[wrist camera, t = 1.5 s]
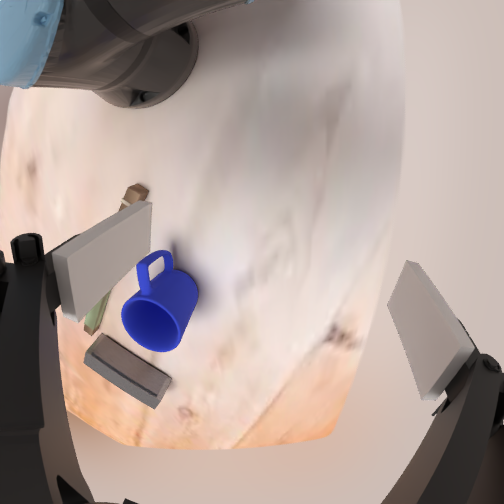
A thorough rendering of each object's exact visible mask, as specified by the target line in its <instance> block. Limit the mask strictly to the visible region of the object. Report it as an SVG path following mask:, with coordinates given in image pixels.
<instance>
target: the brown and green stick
mask: <svg viewBox="0 0 504 504" xmlns="http://www.w3.org/2000/svg"><path fill="white" fill-rule="evenodd" d="M148 192H149V191H148V190H147V189H145V188H144V187H142V186H140V185H139V184H135V185H133V186H130V187H128V189H127V191H126V194H125V196H124V198H122V199H121V202H122V204H121V206H120V209H119V211H121V210H123V209H124V208H126V207H128V206H130V205H132V204H133V203H135V202H137V201H139V200H141V201H145V198H146V196H147V194H148ZM110 291H111V290H110ZM110 291H109V292H108V293H107V294H106V295H105V296H104V297H103V298H102V299H101V300H100V301H99V302H98V303H97V304H96V305H95V306H94V307H93V308H92V309H91V310H90V311H89V312H88V313H87V314H86V318H85V322H84V324H85V326H84V331H86V332H87V333H88V334H90V335H91V336H92V335H93V334H94V333H95V332H96V331H97V330H98V328H99V325H100V323H101V320H102V316H103V313H104V310H105V306H106V303H107V300H108V297H109V294H110Z"/></svg>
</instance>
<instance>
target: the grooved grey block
mask: <svg viewBox="0 0 504 504" xmlns="http://www.w3.org/2000/svg"><path fill="white" fill-rule="evenodd" d="M84 364H86V365H87V366H88V367H90V368H91V369H93V370H94V371H95V372H97V373H98V374H100V375H101V376H102V377H104V378H105V379H107V380H108V381H110V382H111V383H113V384H114V385H116V386H117V387H119V388H120V389H122V390H123V391H125V392H126V393H128V394H130V395H131V396H133V397H134V398H136V399H138V400H139V401H141V402H143V403H144V404H146V405H148V406H150V407H151V408H153V409H155V408H156V407H157V406H158V404H159V403H160V401H161V400H162V398H163V396H164V394H165V392H166V390H167V388H168V386H169V384H170V382H171V380H172V378H170V377H168V376H167V375H165V374H163V373H162V372H160V371H158V370H157V369H155V368H153V367H152V366H150V365H149V364H147V363H145V362H144V361H142V360H141V359H139V358H138V357H136V356H134V355H133V354H131V353H130V352H128V351H127V350H125V349H124V348H122V347H121V346H120V345H118V344H117V343H115V342H114V341H112V340H111V339H110V338H108V337H107V336H105V335H104V334H103V333H102V334H101V335H100V336H99V337H98V338H97V339H96V341H95V342H94V343H93V344H92V345H91V346H90V348H89V349H88V350H87V351H86V354H85V358H84Z"/></svg>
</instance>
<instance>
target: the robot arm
mask: <svg viewBox="0 0 504 504" xmlns="http://www.w3.org/2000/svg"><path fill="white" fill-rule="evenodd" d="M253 1H255V0H1V1H0V85H5V86H13V87H20V88H22V89H27V88H28V89H29V87H51V88H70V89H83V90H92V91H93V92H95V93H96V94H97V95H99V96H100V97H101V98H103V99H104V100H105V101H107V102H108V103H110V104H112V105H115V106H118V107H123V108H145V107H149V106H153V105H155V104H157V103H160V102H161V101H163V100H165V99H166V98H168V97H169V96H171V95H172V94H173V93H174V92H175V91H177V90H178V89H179V88H180V86H181V85H182V84H183V83H184V82H185V80H186V79H187V77H188V76H189V74H190V73H191V71H192V69H193V66H194V64H195V61H196V58H197V53H198V37H197V33H196V30H195V28H194V26H193V24H192V22H191V21H190V20H193V19H195V18H198V17H201V16H204V15H206V14H209V13H212V12H215V11H219V10H222V9H225V8H228V7H232V6H235V5H239V4H243V3H245V4H249V3H252V2H253ZM151 215H152V203H151V202H146V201H141V200H139V201H137V202H135V203H133V204H132V205H130V206H128V207H126V208H124V209H123V210H121V211H119V212H117V213H115V214H114V215H112V216H110V217H108V218H107V219H105V220H103V221H102V222H100V223H98V224H97V225H95V226H93V227H92V228H90V229H88V230H87V231H85V232H83V233H81V234H78V235H75V236H73V237H72V238H70V239H68V240H67V241H65V242H64V243H62V244H61V245H59V246H57V247H56V248H54V249H53V250H51V251H50V252H48V253H47V254H45V255H44V249H43V241H42V236H41V235H39V234H36V233H26V234H22V235H19V236H17V237H15V238H14V239H13V240H12V241H11V242H10V243H11V249H12V254H13V260H14V263H6V262H5V258H4V254H3V252H2V251H1V250H0V504H117V503H107V502H95V501H94V499H93V496H92V494H91V491H90V489H89V487H88V485H87V483H86V481H85V479H84V478H83V475H82V473H81V471H80V468H79V464H78V460H77V457H76V453H75V449H74V445H73V441H72V437H71V432H70V428H69V423H68V419H67V412H66V407H65V401H64V395H63V388H62V380H61V372H60V362H59V351H58V335H57V316H56V312H55V309H56V308H57V307H58V306H59V305H61V308H62V312H63V316H64V317H65V318H68V319H70V320H72V321H74V322H77V323H79V322H80V321H81V320H82V319H83V317H84V316H85V315H86V314H87V313H88V312H89V311H90V310H91V309H92V308H93V307H94V306H95V305H96V304H97V303H98V302H99V301H100V300H101V299H102V298H103V297H104V296H105V295H106V294H107V293H108V292H109V291H110V290H111V289H112V288H113V287H114V286H115V285H116V284H117V283H118V282H119V281H120V280H121V279H122V278H123V277H124V276H125V275H126V274H127V273H128V272H129V271H130V270H131V269H132V268H133V267H134V266H135V265H136V264H137V263H138V262H139V261H140V260H142V259H143V258H144V257H145V256H146V255H147V254H148V253H149V252H150V237H151ZM387 306H388V309H389V311H390V313H391V316H392V318H393V321H394V323H395V326H396V329H397V331H398V334H399V336H400V338H401V341H402V344H403V347H404V350H405V352H406V355H407V358H408V361H409V364H410V367H411V369H412V372H413V375H414V378H415V381H416V384H417V388H418V391H419V394H420V397H421V400H436V399H438V397H439V396H440V395H441V394H442V392H443V391H444V390H445V391H446V394H447V398H446V399H445V400H444V401H443V403H442V404H441V405H440V406H439V407H438V408H437V409H436V411H435V412H434V413H433V414H432V416H434V415H435V414H437V415H436V417H435V419H434V421H433V423H432V425H431V426H430V428H429V430H428V432H427V434H426V436H425V437H424V439H423V441H422V443H421V445H420V446H419V448H418V450H417V451H416V453H415V455H414V456H413V458H412V460H411V461H410V463H409V465H408V466H407V468H406V469H405V471H404V472H403V474H402V475H401V477H400V478H399V480H398V481H397V483H396V484H395V485H394V487H393V488H392V490H391V491H390V493H389V494H388V495H387V496H386V498H385V499H384V500H383V502H382V503H381V504H504V425H503V420H504V373H502V370H501V367H500V365H499V363H498V362H497V361H496V360H495V359H494V358H493V357H491V356H490V355H488V354H480V352H479V351H478V349H477V347H476V345H475V344H474V342H473V340H472V339H471V337H469V334H468V332H467V331H465V330H466V329H465V327H464V326H463V324H462V323H461V322H460V320H458V319H457V318H456V316H455V314H454V313H453V311H452V310H451V309H450V307H449V306H448V304H447V303H446V301H445V300H444V298H443V297H442V295H441V294H440V292H439V291H438V289H437V288H436V287H435V285H434V284H433V283H432V281H431V280H430V278H429V277H428V276H427V275H426V273H425V271H424V270H423V269H422V267H421V266H420V265H419V263H415V262H411V261H408V260H406V262H405V265H404V267H403V270H402V272H401V275H400V277H399V279H398V282H397V284H396V286H395V289H394V291H393V293H392V296H391V298H390V300H389V302H388V304H387ZM123 504H138V503H135V502H133V501H130V500H128V499H125V500H124V502H123Z"/></svg>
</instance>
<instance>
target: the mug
mask: <svg viewBox="0 0 504 504" xmlns="http://www.w3.org/2000/svg"><path fill="white" fill-rule="evenodd" d="M161 256H163V258H164V264H165V268H164V271H163V272H161V273H160V274H158V275H157V276H156V277H155V278H153V279H152V280H151V281H150V279H149V271H148V266H149V265H150V264H151V263H153V262H154V261H155V260H156V259H158V258H159V257H161ZM136 269H137V276H138V281H139V286H140V290H139V291H138V292H137V293H136V294H135V295H133V296H132V297H131V298H130V299H129V300H127V301H126V303H125V304H124V305H123V308H122V312H121V317H122V322H123V325H124V327H125V329H126V331H127V332H128V334H129V335H130V336H131V337H132V338H133V339H134V340H135V341H136V342H137V343H138V344H140V345H141V346H143V347H145V348H147V349H149V350H152V351H156V352H167V351H171V350H173V349H174V348H176V347H177V346H178V345H179V343H180V341H181V339H182V336H183V334H184V331H185V329H186V327H187V324H188V322H189V320H190V317H191V315H192V312H193V310H194V308H195V305H196V303H197V299H198V290H197V287H196V284H195V282H194V281H193V280H192V278H191V277H190V276H188V275H187V274H186V273H184V272H182V271H179V270H173V258H172V255H171V253H170V252H169V251H167V250H158V251H155V252H153V253H151V254H149V255H148V256H146V257H145V258H143V259H142V260H140V261H139V262H138V263H137V265H136Z"/></svg>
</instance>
